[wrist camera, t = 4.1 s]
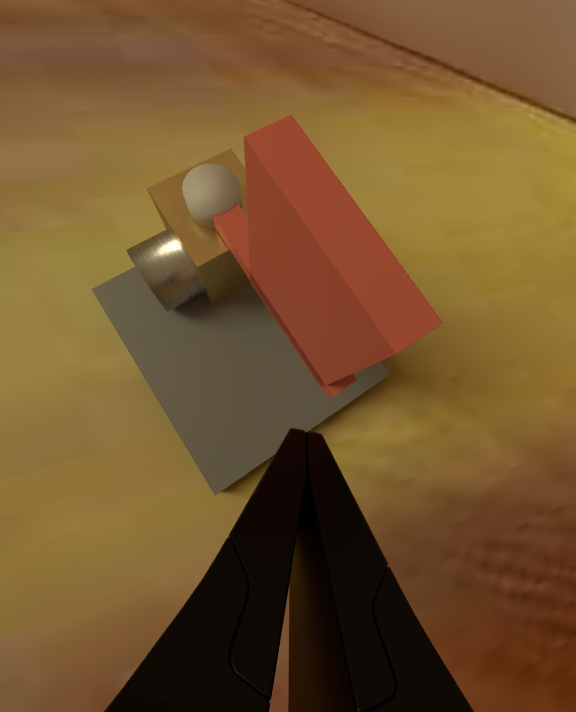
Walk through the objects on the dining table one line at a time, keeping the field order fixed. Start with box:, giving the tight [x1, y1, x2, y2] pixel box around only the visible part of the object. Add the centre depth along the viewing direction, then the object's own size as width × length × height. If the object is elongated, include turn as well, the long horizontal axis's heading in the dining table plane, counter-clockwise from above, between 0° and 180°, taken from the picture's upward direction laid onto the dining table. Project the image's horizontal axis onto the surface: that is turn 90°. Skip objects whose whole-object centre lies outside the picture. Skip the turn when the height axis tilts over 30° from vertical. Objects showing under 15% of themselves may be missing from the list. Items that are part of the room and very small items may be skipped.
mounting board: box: [92, 267, 390, 495], centre depth 19 cm, size 14×12×1 cm
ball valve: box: [127, 149, 251, 312], centre depth 17 cm, size 4×9×5 cm, turn 123°
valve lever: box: [182, 115, 443, 398], centre depth 10 cm, size 11×2×8 cm, turn 33°
